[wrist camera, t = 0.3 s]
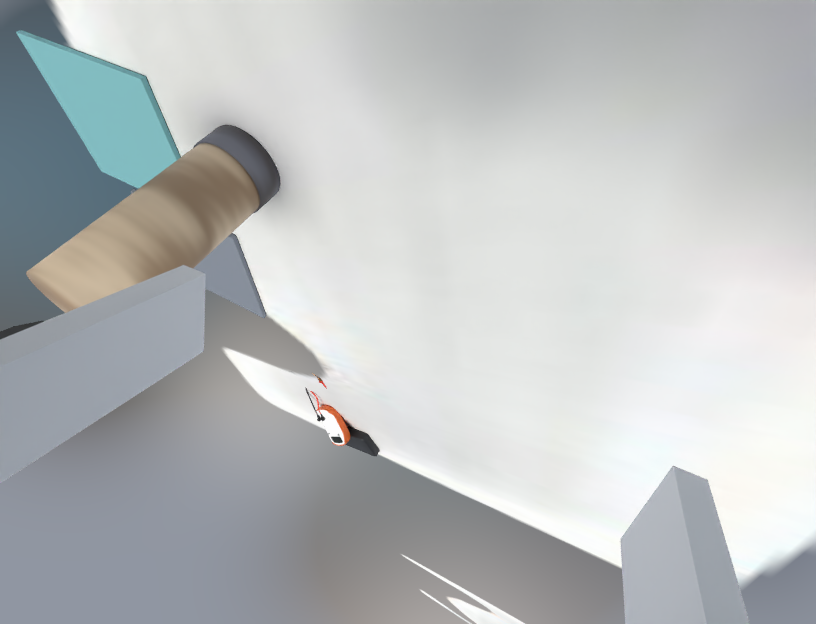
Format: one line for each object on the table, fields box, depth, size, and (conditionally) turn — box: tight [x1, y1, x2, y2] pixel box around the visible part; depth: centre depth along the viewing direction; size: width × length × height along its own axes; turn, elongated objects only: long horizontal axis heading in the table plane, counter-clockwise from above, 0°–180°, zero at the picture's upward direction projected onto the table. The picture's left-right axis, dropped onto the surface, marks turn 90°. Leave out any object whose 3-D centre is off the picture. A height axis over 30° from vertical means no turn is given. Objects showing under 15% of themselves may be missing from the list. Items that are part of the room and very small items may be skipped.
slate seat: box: [131, 189, 266, 318], centre depth 46 cm, size 12×12×1 cm
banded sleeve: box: [26, 125, 280, 313], centre depth 28 cm, size 5×5×14 cm
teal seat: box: [16, 30, 181, 188], centre depth 37 cm, size 12×12×1 cm
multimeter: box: [289, 371, 379, 456], centre depth 63 cm, size 18×12×3 cm, turn 18°
